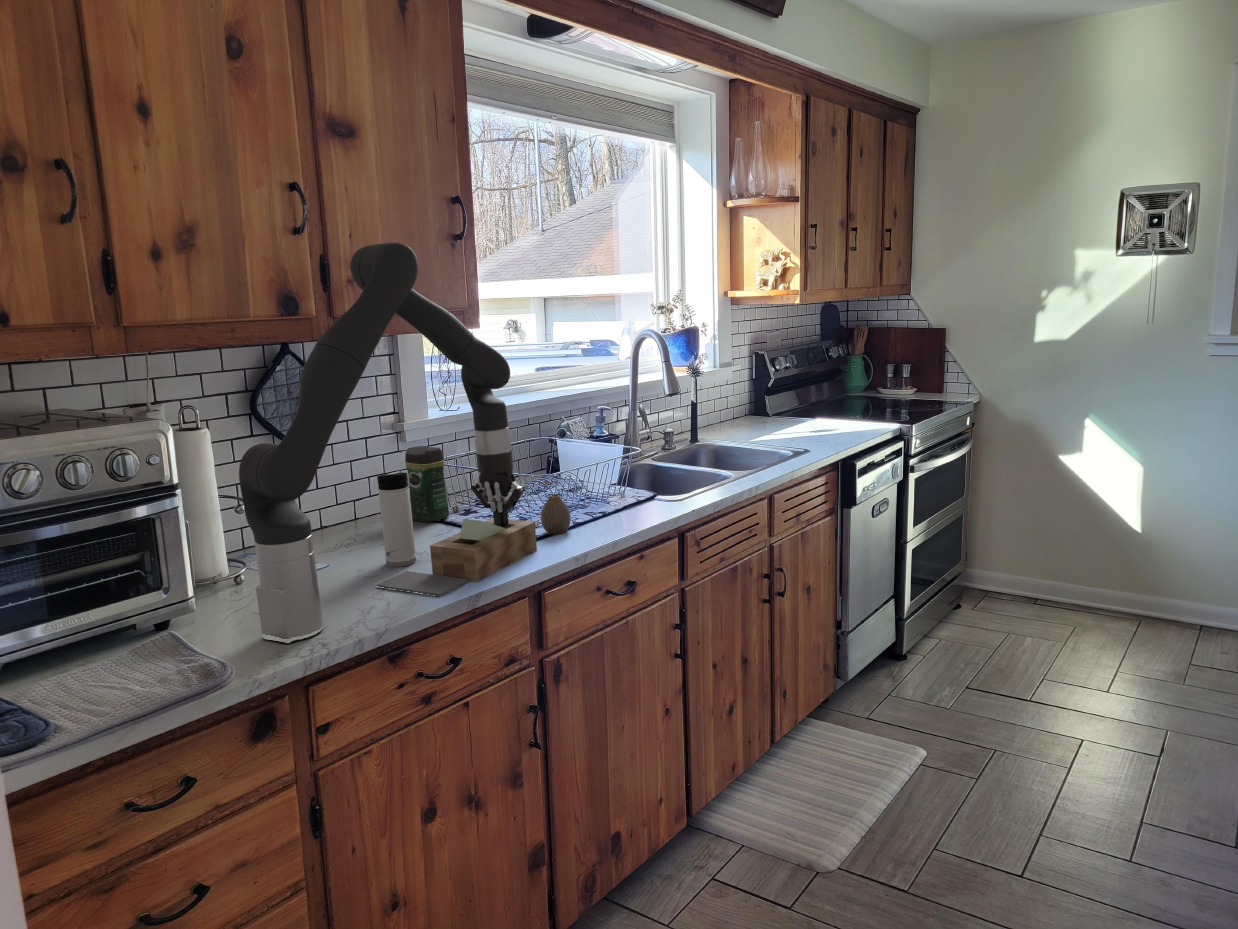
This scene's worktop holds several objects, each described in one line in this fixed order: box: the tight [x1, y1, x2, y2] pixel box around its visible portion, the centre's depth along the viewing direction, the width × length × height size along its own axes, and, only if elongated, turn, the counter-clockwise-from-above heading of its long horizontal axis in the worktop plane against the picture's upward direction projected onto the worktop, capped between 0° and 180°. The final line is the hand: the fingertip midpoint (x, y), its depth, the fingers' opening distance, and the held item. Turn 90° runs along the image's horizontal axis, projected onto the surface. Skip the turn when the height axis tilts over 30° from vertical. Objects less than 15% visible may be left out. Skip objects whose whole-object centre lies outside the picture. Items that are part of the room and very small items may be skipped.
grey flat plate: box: [375, 570, 470, 597], centre depth 181 cm, size 9×16×1 cm, turn 62°
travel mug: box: [376, 472, 417, 568], centre depth 194 cm, size 6×7×20 cm
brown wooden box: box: [429, 517, 538, 583], centre depth 193 cm, size 22×11×6 cm, turn 152°
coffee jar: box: [404, 445, 450, 523], centre depth 231 cm, size 10×8×19 cm
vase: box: [540, 494, 571, 535], centre depth 213 cm, size 7×7×9 cm
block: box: [460, 518, 506, 543], centre depth 193 cm, size 12×4×4 cm, turn 152°
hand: (501, 527), depth 198 cm, fingers closed
